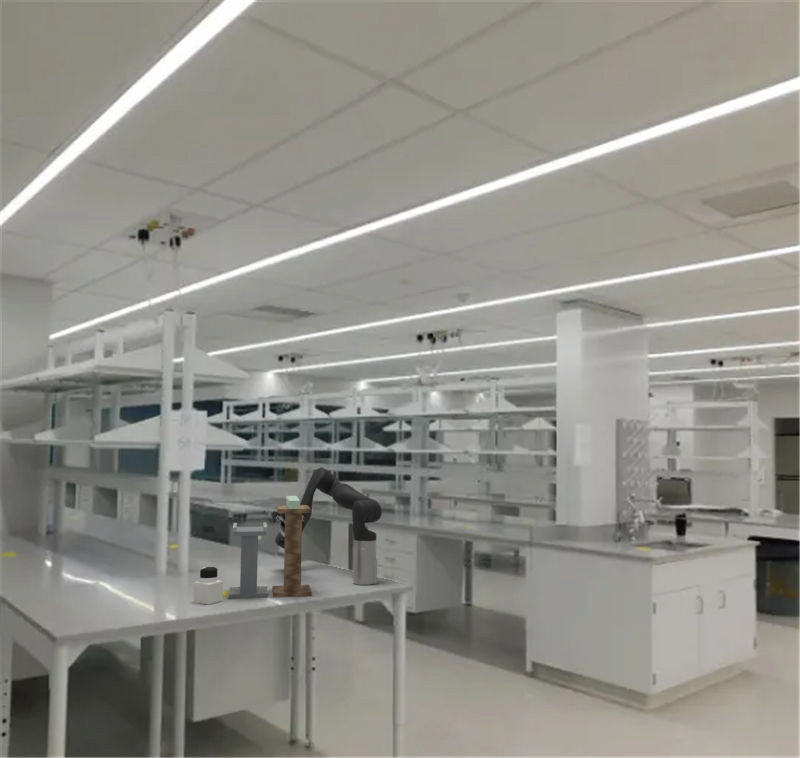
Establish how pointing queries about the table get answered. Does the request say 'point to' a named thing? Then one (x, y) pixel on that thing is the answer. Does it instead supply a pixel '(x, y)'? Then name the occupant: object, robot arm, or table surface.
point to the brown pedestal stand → (292, 554)
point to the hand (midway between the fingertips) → (290, 509)
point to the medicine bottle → (208, 587)
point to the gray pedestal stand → (249, 563)
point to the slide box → (293, 502)
